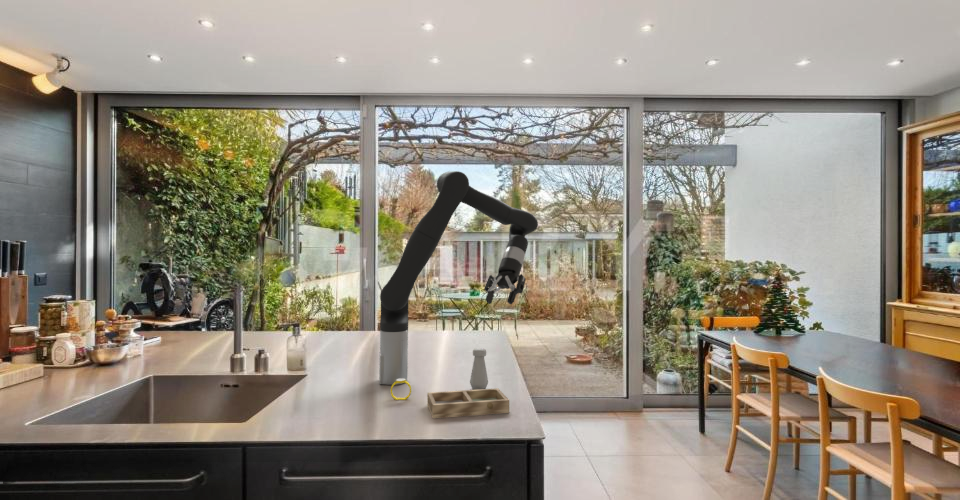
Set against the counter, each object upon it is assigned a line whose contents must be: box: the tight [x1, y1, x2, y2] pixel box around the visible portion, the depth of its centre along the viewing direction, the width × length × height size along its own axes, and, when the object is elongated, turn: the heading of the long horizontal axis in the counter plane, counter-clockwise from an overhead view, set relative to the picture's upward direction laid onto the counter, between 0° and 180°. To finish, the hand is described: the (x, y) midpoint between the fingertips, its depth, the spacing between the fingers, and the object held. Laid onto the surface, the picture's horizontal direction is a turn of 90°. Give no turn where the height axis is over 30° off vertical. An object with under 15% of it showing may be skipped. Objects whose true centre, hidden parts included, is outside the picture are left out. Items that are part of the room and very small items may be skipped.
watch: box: [390, 378, 412, 401], centre depth 138 cm, size 6×3×6 cm, turn 97°
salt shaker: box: [469, 347, 489, 390], centre depth 149 cm, size 6×6×13 cm
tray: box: [426, 387, 510, 419], centre depth 131 cm, size 21×11×4 cm, turn 104°
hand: (498, 303), depth 156 cm, fingers open, 8 cm apart
